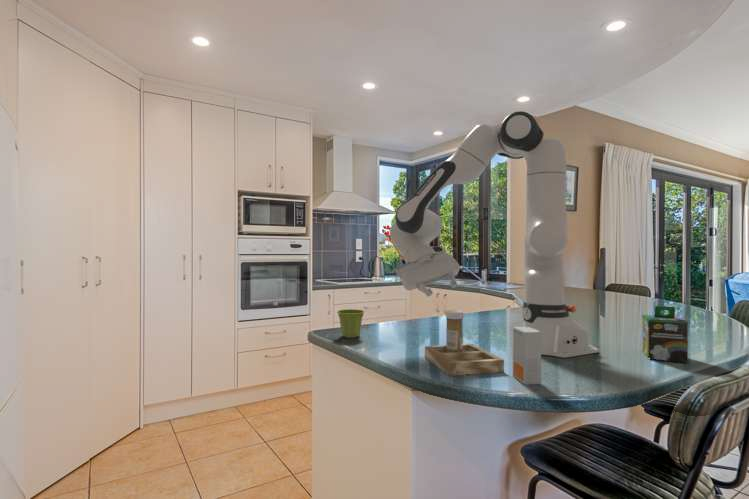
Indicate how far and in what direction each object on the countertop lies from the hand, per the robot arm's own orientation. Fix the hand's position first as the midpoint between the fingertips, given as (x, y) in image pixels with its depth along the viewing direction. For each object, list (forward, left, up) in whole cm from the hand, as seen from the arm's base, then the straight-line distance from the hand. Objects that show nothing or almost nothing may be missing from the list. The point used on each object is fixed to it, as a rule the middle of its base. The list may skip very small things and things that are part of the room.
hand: (442, 290), depth 121 cm
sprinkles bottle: (+2, +13, -18) cm, 22 cm away
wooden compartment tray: (+2, +17, -18) cm, 25 cm away
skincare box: (-7, +32, -18) cm, 38 cm away
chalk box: (-57, +24, -18) cm, 64 cm away
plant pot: (+25, -21, -18) cm, 37 cm away
